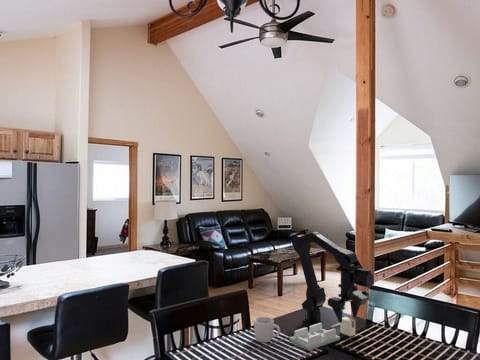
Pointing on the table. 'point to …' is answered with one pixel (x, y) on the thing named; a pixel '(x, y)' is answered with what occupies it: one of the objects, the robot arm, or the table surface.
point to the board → (314, 336)
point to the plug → (348, 326)
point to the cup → (265, 329)
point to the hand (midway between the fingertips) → (347, 320)
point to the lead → (335, 325)
